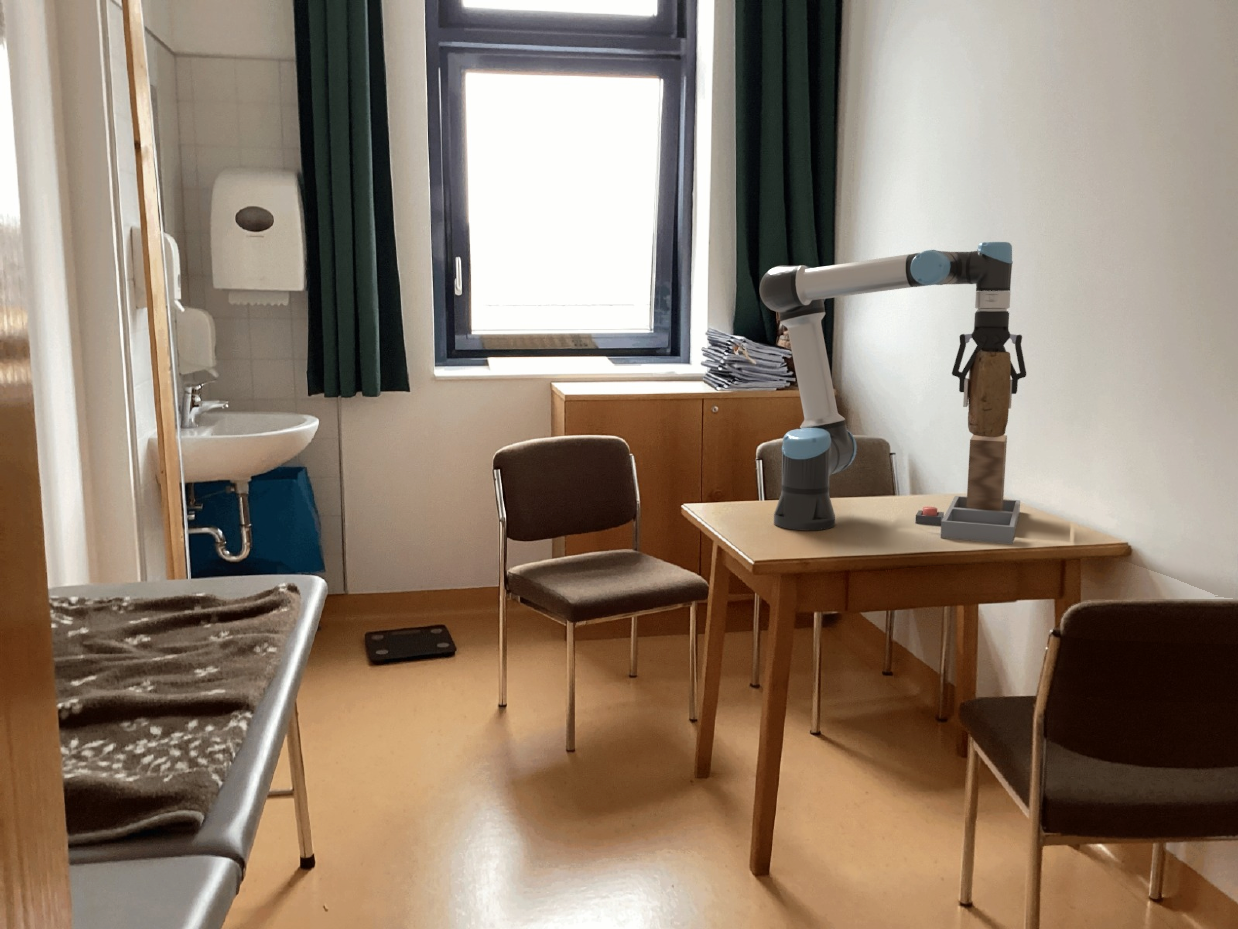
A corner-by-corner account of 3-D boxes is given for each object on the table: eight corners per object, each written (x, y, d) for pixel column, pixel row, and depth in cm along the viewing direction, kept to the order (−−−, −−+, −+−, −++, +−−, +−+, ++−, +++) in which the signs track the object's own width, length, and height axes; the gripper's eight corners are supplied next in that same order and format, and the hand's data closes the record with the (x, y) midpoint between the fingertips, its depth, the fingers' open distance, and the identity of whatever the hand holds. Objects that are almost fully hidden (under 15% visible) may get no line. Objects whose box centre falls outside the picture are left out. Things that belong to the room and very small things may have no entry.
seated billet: (965, 518, 262) (970, 439, 258) (969, 510, 272) (973, 433, 268) (999, 521, 259) (1004, 441, 255) (1002, 512, 269) (1007, 435, 265)
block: (1009, 438, 241) (1015, 351, 238) (976, 438, 241) (982, 351, 238) (992, 431, 252) (998, 348, 248) (961, 431, 252) (967, 348, 248)
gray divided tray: (940, 537, 247) (941, 521, 246) (954, 510, 276) (955, 495, 275) (1012, 544, 241) (1013, 527, 240) (1019, 515, 270) (1020, 500, 269)
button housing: (915, 527, 258) (915, 515, 257) (918, 521, 263) (919, 510, 263) (940, 529, 255) (941, 517, 255) (943, 523, 261) (943, 512, 260)
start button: (921, 522, 258) (922, 509, 258) (923, 520, 261) (923, 506, 261) (935, 524, 257) (936, 510, 256) (937, 521, 260) (938, 507, 259)
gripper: (941, 310, 243) (937, 407, 246) (1042, 310, 234) (1036, 410, 238) (945, 309, 249) (940, 403, 253) (1043, 309, 241) (1037, 407, 245)
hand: (987, 407), depth 246 cm, fingers closed on block, 9 cm apart
